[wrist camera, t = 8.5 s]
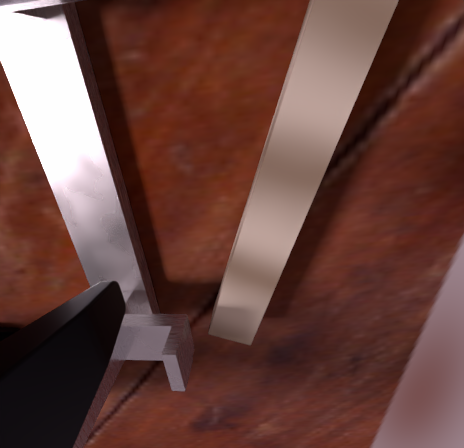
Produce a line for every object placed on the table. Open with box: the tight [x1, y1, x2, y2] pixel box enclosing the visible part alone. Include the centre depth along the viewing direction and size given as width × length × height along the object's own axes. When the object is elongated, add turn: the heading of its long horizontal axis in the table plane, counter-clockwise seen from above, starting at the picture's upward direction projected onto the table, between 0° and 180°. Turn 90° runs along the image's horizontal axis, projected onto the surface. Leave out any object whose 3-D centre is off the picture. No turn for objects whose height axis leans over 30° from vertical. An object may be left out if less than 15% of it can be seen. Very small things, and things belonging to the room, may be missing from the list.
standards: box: [0, 0, 195, 448], centre depth 13 cm, size 24×8×12 cm, turn 6°
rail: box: [208, 0, 399, 346], centre depth 16 cm, size 24×3×3 cm, turn 165°
